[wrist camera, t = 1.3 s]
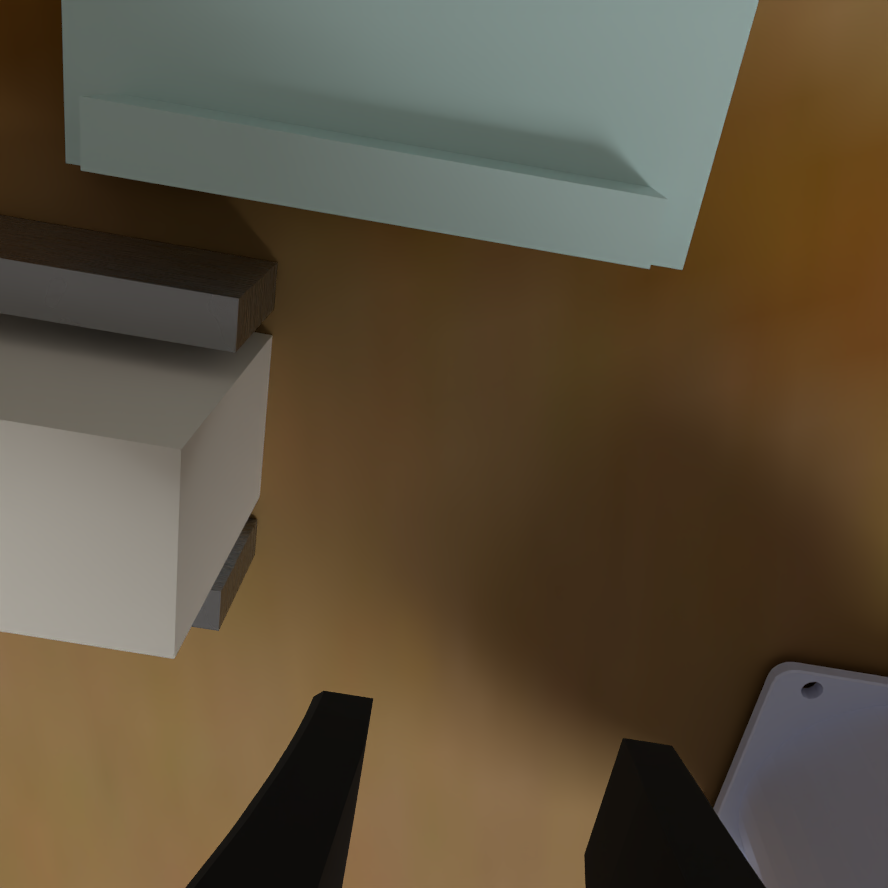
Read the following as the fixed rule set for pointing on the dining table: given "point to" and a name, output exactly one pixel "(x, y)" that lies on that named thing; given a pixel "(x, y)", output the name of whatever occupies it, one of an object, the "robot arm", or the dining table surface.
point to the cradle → (419, 110)
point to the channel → (141, 312)
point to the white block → (122, 479)
